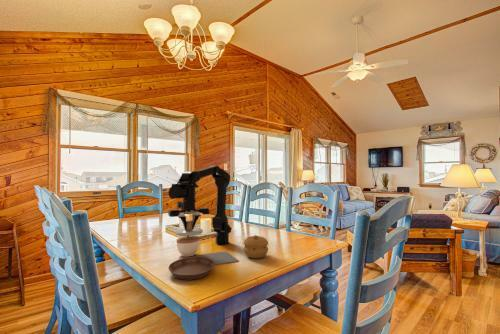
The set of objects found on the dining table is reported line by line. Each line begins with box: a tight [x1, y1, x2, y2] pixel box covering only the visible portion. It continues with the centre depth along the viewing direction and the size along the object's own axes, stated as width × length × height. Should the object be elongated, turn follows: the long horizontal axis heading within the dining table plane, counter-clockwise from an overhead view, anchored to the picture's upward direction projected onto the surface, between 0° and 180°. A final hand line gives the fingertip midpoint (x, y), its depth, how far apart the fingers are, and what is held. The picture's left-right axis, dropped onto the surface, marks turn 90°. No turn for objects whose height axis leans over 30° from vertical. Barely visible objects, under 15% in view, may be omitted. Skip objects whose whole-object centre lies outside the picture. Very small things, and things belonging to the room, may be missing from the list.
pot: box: [242, 234, 269, 259], centre depth 123 cm, size 12×12×10 cm
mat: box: [193, 250, 240, 267], centre depth 120 cm, size 16×16×1 cm
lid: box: [174, 220, 204, 237], centre depth 126 cm, size 13×13×5 cm
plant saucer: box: [168, 256, 216, 281], centre depth 103 cm, size 18×18×3 cm
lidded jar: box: [176, 235, 200, 257], centre depth 125 cm, size 11×11×9 cm
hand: (189, 229), depth 126 cm, fingers closed on lid, 3 cm apart
